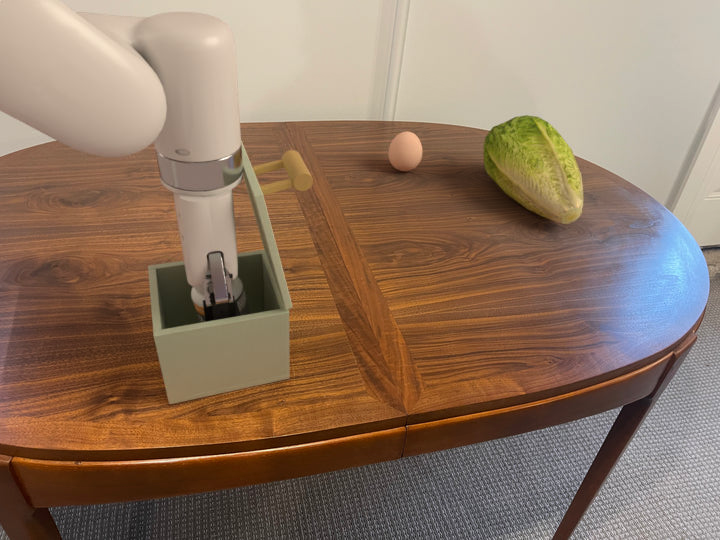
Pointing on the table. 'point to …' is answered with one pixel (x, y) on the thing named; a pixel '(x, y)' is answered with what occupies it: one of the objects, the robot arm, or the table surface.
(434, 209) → the table surface
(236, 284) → the pill bottle
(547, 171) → the lettuce
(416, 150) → the egg
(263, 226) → the lid
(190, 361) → the chest
